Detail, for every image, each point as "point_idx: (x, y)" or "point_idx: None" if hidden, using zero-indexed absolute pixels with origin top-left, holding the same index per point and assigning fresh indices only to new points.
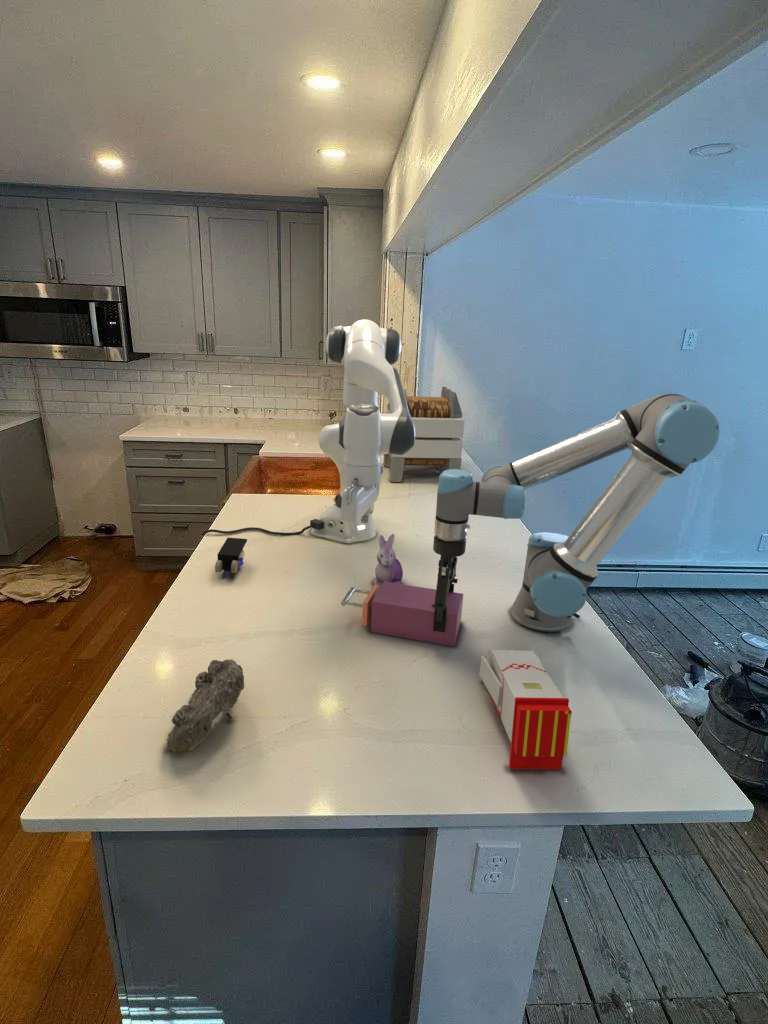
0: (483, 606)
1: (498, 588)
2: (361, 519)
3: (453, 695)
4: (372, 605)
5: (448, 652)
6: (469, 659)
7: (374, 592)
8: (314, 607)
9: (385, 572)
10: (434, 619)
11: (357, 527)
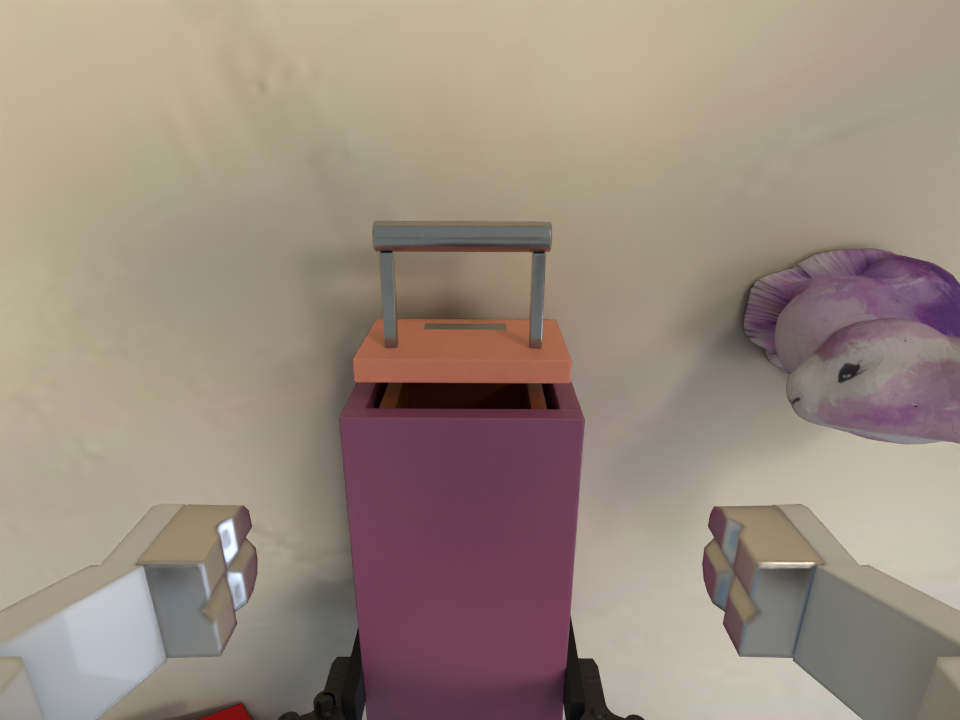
0: (687, 674)
1: (841, 706)
2: (738, 527)
3: None
4: (343, 410)
5: (349, 610)
6: None
7: (490, 381)
8: (486, 19)
9: (789, 357)
10: (354, 644)
11: (124, 690)
